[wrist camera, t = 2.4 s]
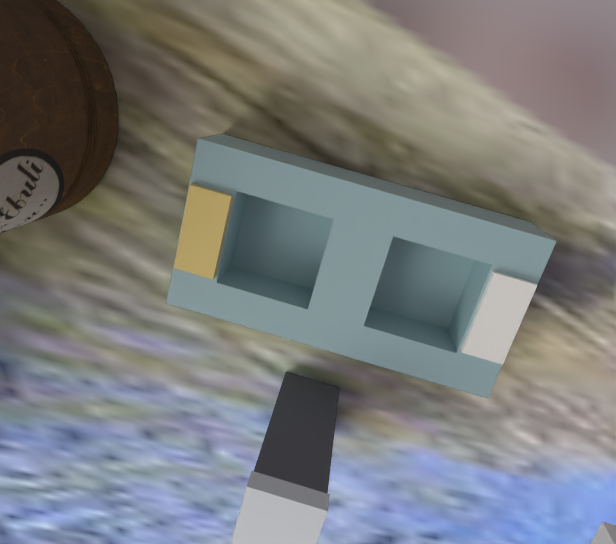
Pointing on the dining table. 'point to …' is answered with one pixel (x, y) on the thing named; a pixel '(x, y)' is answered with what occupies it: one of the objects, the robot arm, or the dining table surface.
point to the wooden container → (50, 111)
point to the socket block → (354, 263)
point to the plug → (291, 468)
